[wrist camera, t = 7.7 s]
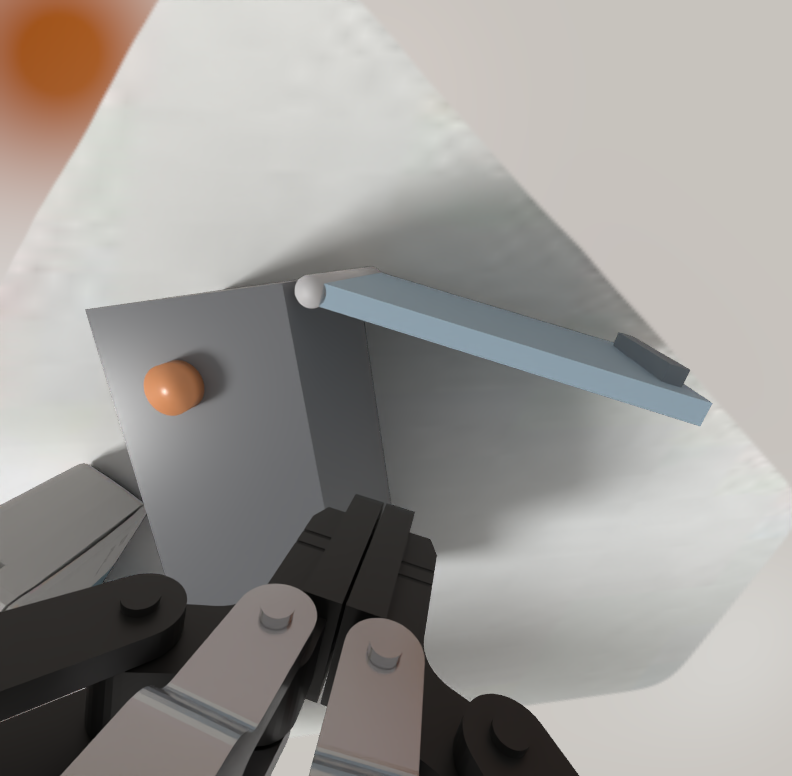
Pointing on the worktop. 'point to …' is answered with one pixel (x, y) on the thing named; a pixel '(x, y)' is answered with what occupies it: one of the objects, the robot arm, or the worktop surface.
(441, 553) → the worktop surface
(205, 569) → the camera housing
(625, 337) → the side door
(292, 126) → the worktop surface
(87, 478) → the stereo radio cassette player
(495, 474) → the worktop surface
